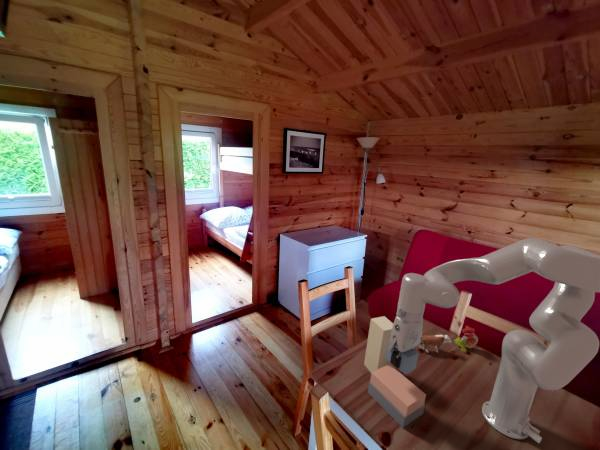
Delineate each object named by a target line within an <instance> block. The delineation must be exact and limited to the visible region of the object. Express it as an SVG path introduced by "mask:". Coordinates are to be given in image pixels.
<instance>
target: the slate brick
mask: <svg viewBox="0 0 600 450" xmlns="http://www.w3.org/2000/svg"><path fill="white" fill-rule="evenodd" d="M389 344H390V342H388V345H387V348H388V346H389ZM395 351H396V352H397V353H398V349H397V348H396V349H395ZM391 354H392V353H391V352H389V351H388V350H387V351H386V357H385V358H386V359H387V360H389V361H390V360H391ZM400 357H401V361H400V367H399V368H398V369H399V371H400V372H402V373H403V375H406V374H409V373H410V372H412V371H414V370H416V369H417V364H418V360H419V359H418V358H419V351H417V350H416V349H413V348H412V349H410V350H408V351H405V352H401V355H400Z"/></svg>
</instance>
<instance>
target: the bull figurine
mask: <svg viewBox="0 0 600 450" xmlns="http://www.w3.org/2000/svg"><path fill="white" fill-rule="evenodd" d="M452 342H453V341H452V339H451V338H450V336H449V335H448V334H447V333H445V334H444V335H443V334H434V335H422V338H421V342H420V344H419V345H418V346H419V347H418V348H419V349H420V350H423V351H424V350H425V352H426V353H427V354H429V353H430V351H429V350H428V347H435V351H434V352H436V353H439V349H440V348H441V346H442V345H444V344H445V343H446V344H447V343H449V344H452Z"/></svg>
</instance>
